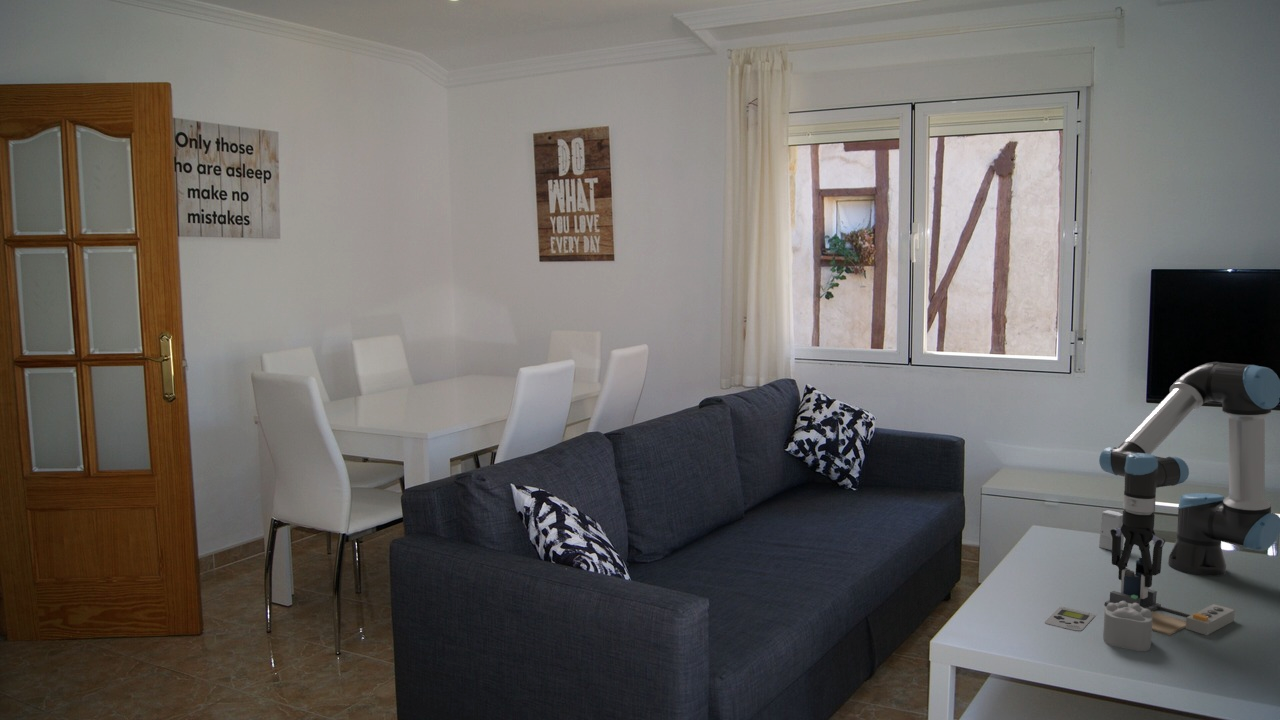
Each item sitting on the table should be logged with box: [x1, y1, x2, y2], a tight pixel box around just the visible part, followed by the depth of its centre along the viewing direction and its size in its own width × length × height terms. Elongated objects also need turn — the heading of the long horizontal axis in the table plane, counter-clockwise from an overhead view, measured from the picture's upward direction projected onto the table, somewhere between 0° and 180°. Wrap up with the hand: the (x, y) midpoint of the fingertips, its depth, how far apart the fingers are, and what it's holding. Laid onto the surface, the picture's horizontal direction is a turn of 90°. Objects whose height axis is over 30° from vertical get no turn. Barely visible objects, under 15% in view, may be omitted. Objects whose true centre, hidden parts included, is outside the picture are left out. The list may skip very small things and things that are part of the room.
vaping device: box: [1123, 557, 1144, 602], centre depth 244 cm, size 3×5×12 cm, turn 79°
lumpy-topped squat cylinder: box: [1102, 601, 1153, 652], centre depth 222 cm, size 10×13×9 cm
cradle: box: [1104, 588, 1191, 618], centre depth 240 cm, size 11×21×5 cm, turn 36°
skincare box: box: [1098, 509, 1125, 551], centre depth 295 cm, size 6×4×12 cm
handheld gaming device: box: [1044, 606, 1096, 632], centre depth 235 cm, size 9×1×15 cm
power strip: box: [1185, 603, 1236, 636], centre depth 232 cm, size 16×5×4 cm, turn 126°
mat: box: [1151, 610, 1186, 636], centre depth 234 cm, size 12×12×1 cm
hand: (1134, 594), depth 245 cm, fingers closed on vaping device, 4 cm apart
